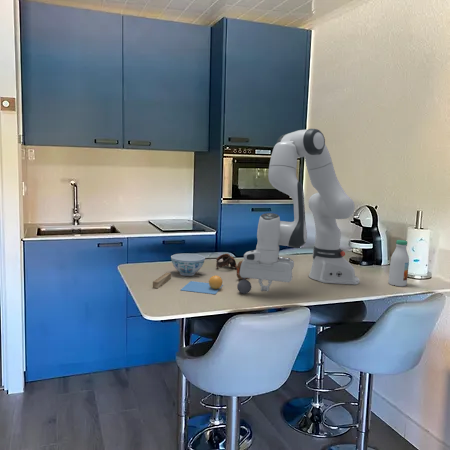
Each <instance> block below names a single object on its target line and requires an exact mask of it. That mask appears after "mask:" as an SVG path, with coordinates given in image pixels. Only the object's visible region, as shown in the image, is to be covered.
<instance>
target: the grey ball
mask: <svg viewBox="0 0 450 450" xmlns="http://www.w3.org/2000/svg"><path fill="white" fill-rule="evenodd" d="M236 285H237V286H236V287H237V288H236V289H237V291H238V292H239V293H241V294H243V295H246V294H248V293H250V292H251V290H252V283H251V282H250V281H249V279H247V280H241V279H240V280H239V281H238V283H237V284H236Z"/></svg>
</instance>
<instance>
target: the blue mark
mask: <svg viewBox="0 0 450 450" xmlns="http://www.w3.org/2000/svg"><path fill="white" fill-rule="evenodd" d="M223 286H224V284H222V286H221V287H220V288H219V289H212V288H211V287H210V286H209V282H201V281H192V280H190V281H189V282H188V283H187V284H185V285H184V286H183V287H181V288H180V291H181V292H182V291H183V292H192V293H198V294H199V293H200V294H209V295H216V294H217V293H218V292H219V291H220V289H222V287H223Z"/></svg>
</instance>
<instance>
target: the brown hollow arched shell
mask: <svg viewBox="0 0 450 450" xmlns="http://www.w3.org/2000/svg"><path fill="white" fill-rule="evenodd" d="M221 259H222V261H220V260H221ZM215 261H216V263H215V265H216V266H215V267H216V269H218V270H219V268H222V267H226V266H227V267H229V266H230V268H235V270H236V271H237V265H238V264H237V263H236V259H235V258H234V257H233V256H232V255H231V254H229V253H223V254H221V255H219V256H218V257H217V258H216V260H215Z"/></svg>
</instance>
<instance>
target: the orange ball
mask: <svg viewBox="0 0 450 450" xmlns="http://www.w3.org/2000/svg"><path fill="white" fill-rule="evenodd" d="M208 283H209V286H210V287H211V288H212V289H219V288H220V287H221V286H222V285H223V279H222V278H221V276H219V275H217V274H216V275H212V276H211V277H210V278H209V279H208ZM222 287H223V286H222ZM222 287H221V288H222ZM221 288H220V289H221Z"/></svg>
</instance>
